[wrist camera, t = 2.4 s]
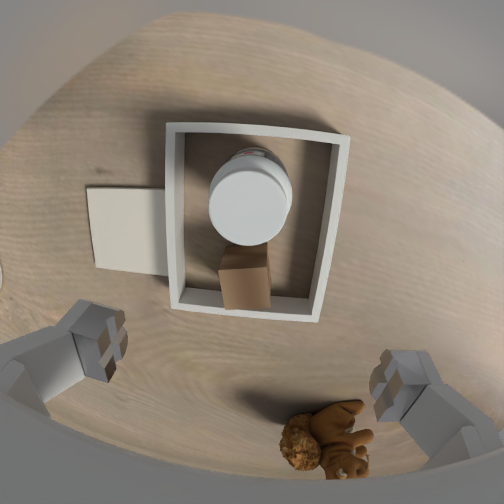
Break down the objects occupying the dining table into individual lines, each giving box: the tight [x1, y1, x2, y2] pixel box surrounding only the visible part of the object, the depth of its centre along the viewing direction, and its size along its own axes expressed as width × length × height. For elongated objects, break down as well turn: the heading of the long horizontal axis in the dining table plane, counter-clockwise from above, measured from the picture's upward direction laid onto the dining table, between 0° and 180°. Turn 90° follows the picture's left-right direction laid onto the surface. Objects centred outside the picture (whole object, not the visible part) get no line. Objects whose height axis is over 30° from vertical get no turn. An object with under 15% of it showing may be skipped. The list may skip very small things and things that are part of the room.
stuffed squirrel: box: [279, 401, 374, 480], centre depth 34 cm, size 10×14×13 cm
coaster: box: [87, 187, 169, 276], centre depth 29 cm, size 9×9×1 cm
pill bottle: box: [208, 147, 292, 246], centre depth 22 cm, size 6×6×10 cm
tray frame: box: [165, 122, 351, 322], centre depth 27 cm, size 15×18×3 cm
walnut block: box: [218, 243, 271, 310], centre depth 28 cm, size 4×4×5 cm
